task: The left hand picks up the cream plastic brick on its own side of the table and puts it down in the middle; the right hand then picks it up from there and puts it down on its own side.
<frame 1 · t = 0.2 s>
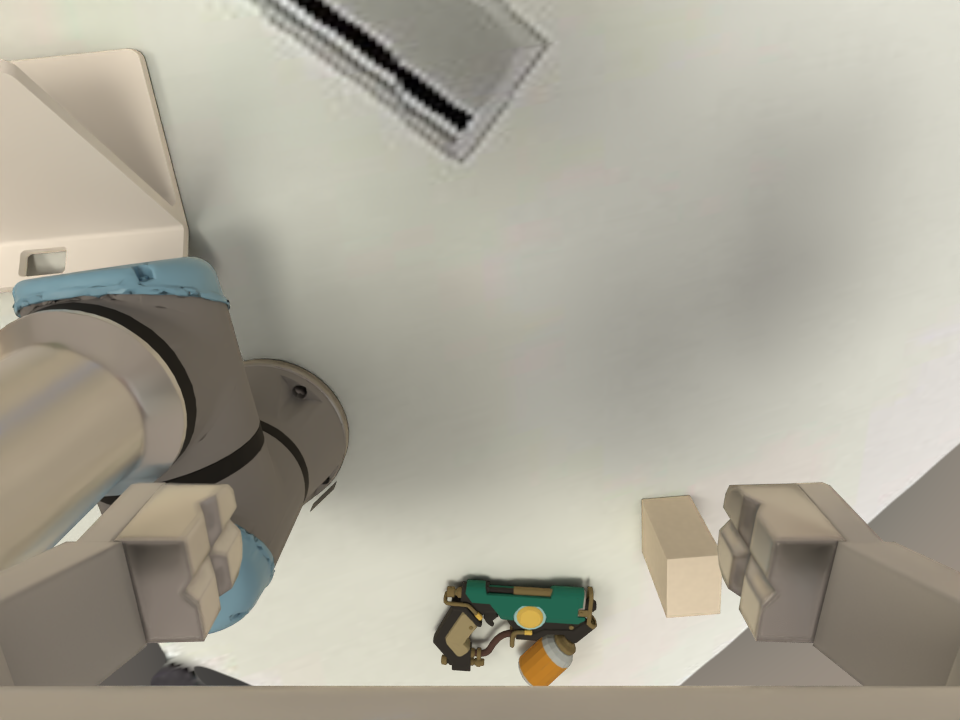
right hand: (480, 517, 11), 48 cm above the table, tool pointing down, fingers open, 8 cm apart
brick: (665, 524, 67), on the table
spray gun: (512, 614, 72), on the table
tablet stand: (31, 179, 55), on the table
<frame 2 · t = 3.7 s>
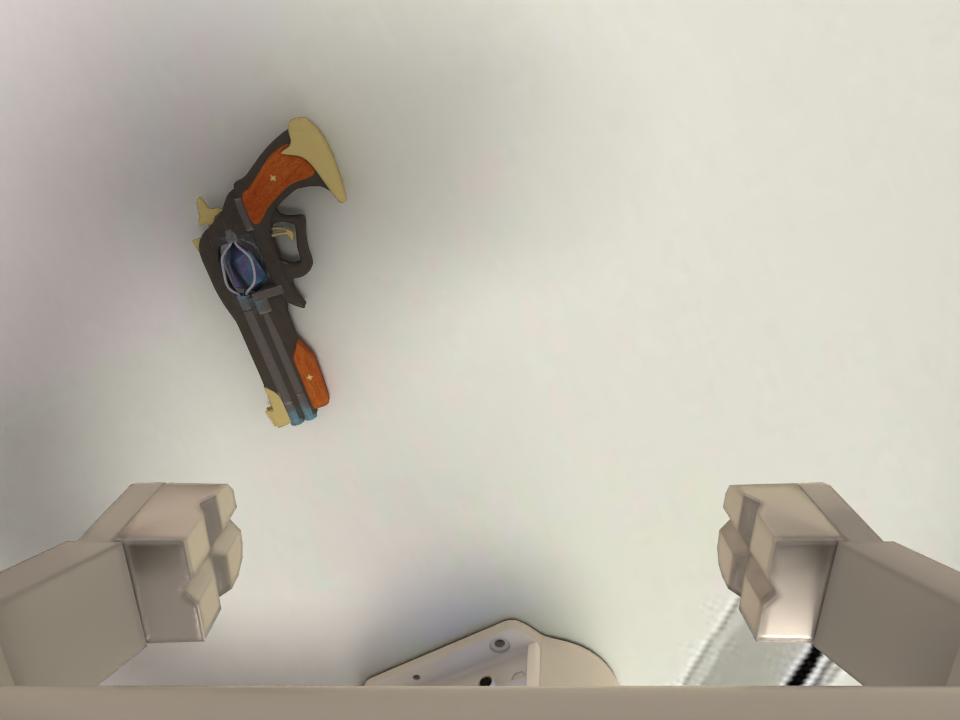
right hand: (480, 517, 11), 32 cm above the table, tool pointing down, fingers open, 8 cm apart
toy gun: (299, 280, 42), on the table
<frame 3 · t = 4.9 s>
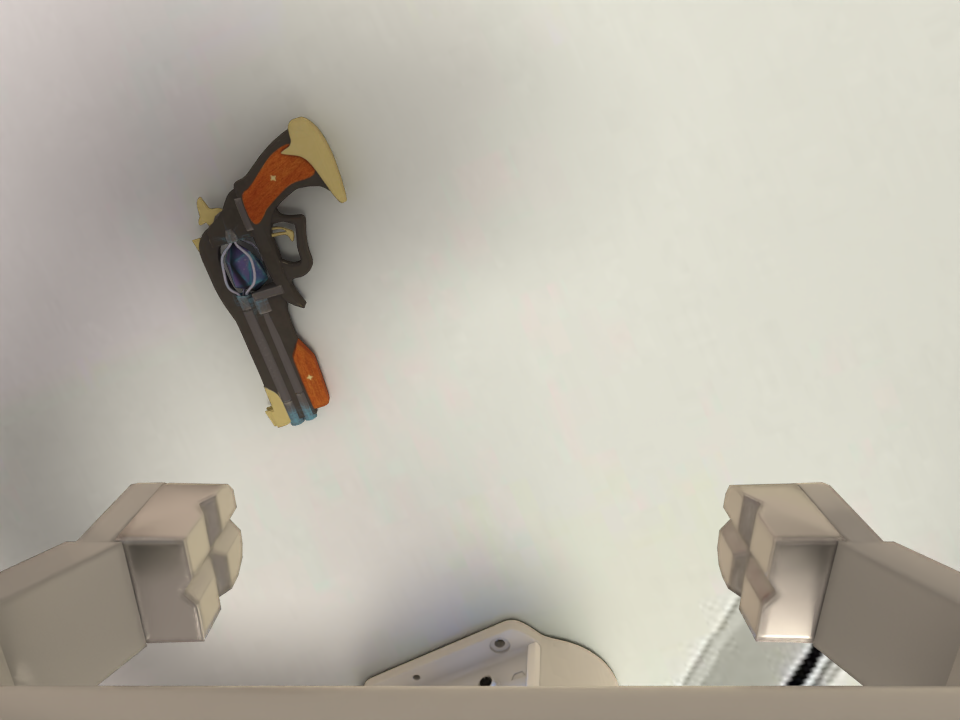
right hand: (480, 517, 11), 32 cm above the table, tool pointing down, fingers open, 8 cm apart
toy gun: (299, 280, 42), on the table
when the left hand's fingers open (5 cm above the table, at t = 6.2 s): brick drops 2 cm, on the table.
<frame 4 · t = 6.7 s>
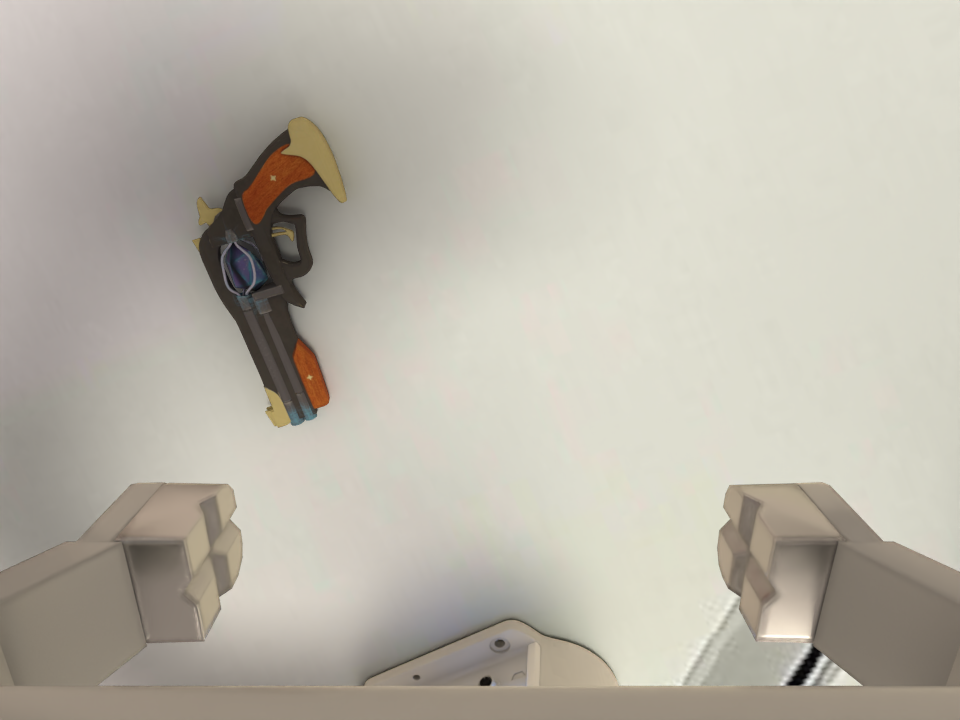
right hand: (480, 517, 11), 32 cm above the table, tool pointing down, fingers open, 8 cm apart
toy gun: (299, 280, 42), on the table
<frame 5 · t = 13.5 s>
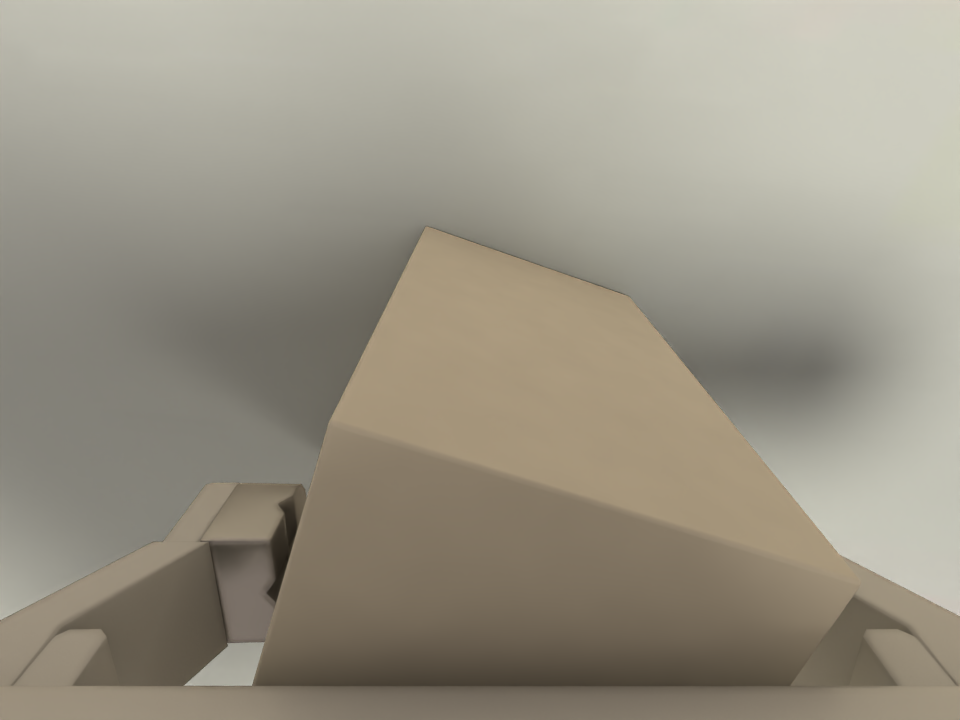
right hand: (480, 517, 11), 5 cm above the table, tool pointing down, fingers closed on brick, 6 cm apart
brick: (481, 389, 16), on the table, touching right hand
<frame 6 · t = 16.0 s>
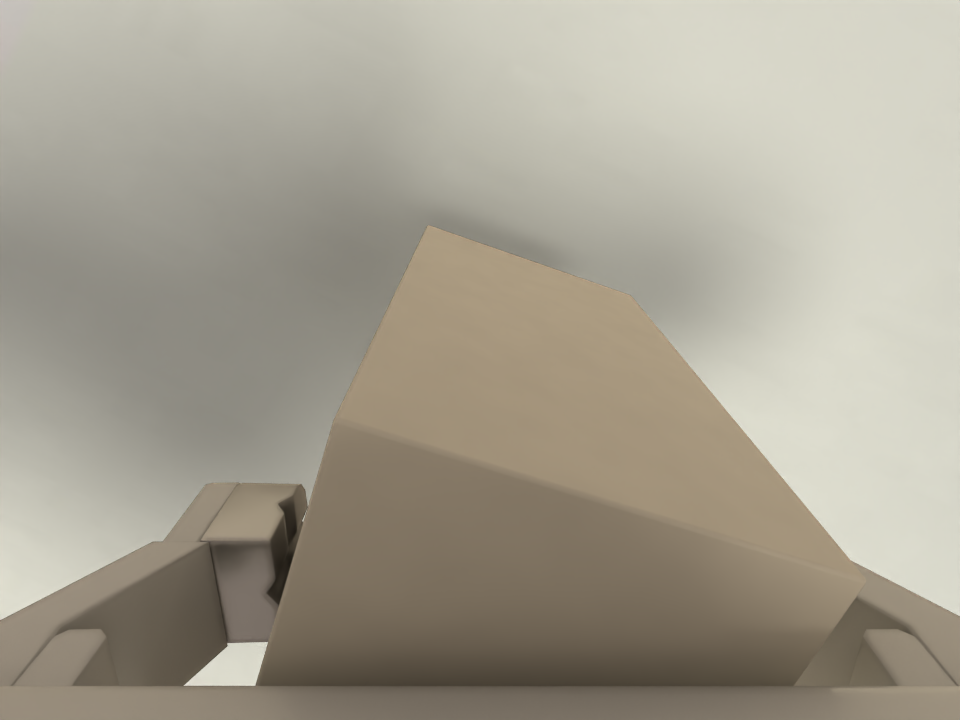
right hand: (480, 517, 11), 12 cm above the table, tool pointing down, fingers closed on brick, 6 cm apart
brick: (483, 388, 16), point 6 cm above the table, touching right hand
when the right hand's fingers open (7 cm above the table, at t = 19.0 s): brick drops 1 cm, on the table.
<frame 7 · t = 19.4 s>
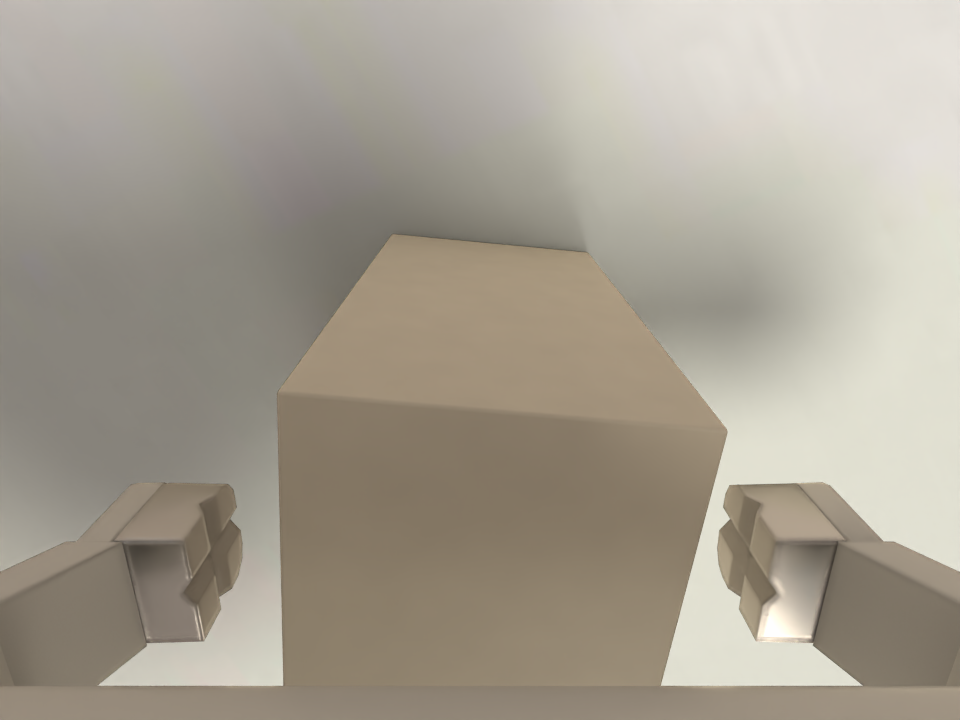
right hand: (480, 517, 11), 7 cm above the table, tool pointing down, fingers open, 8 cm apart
brick: (478, 366, 17), on the table
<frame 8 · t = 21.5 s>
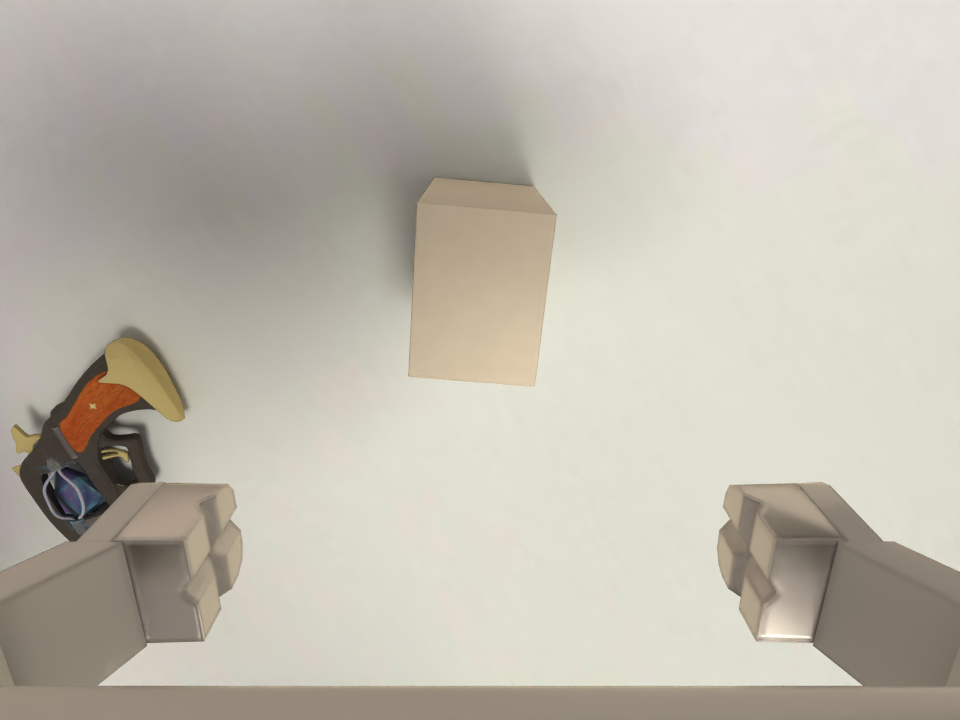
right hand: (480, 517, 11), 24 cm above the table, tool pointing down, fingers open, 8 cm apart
brick: (479, 248, 33), on the table
toy gun: (146, 492, 38), on the table
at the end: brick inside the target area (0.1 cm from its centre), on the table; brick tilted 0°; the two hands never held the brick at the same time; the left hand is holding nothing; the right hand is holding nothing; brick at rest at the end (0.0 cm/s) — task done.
